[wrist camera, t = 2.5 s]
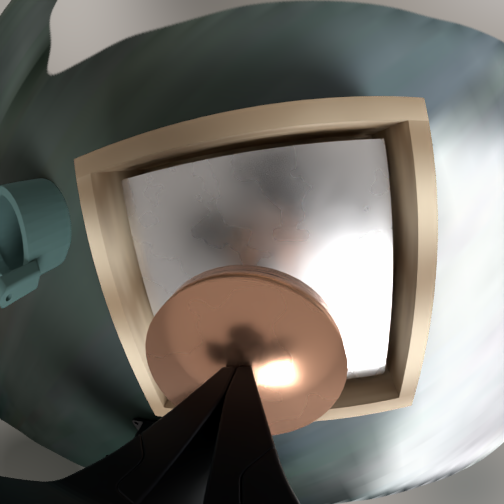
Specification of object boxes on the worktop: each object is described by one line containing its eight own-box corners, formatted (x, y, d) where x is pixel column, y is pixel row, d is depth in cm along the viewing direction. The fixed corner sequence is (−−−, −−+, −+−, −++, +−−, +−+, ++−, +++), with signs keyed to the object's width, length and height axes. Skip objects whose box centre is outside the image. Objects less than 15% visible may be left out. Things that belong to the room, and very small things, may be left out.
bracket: (13, 186, 20) (-56, 203, 11) (69, 169, 18) (-21, 184, 10) (28, 272, 22) (-34, 306, 14) (85, 276, 21) (10, 325, 12)
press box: (386, 347, 19) (411, 405, 13) (185, 361, 22) (155, 415, 15) (380, 120, 15) (424, 97, 8) (136, 158, 17) (73, 159, 11)
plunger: (380, 363, 15) (411, 458, 8) (183, 375, 17) (139, 459, 10) (377, 140, 12) (460, 118, 5) (131, 178, 14) (26, 196, 7)
